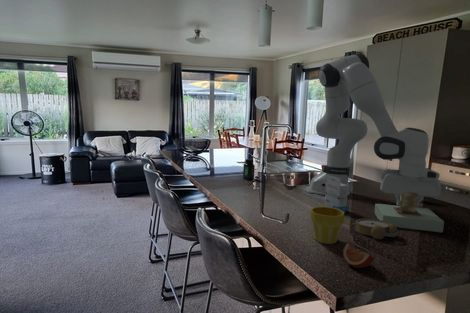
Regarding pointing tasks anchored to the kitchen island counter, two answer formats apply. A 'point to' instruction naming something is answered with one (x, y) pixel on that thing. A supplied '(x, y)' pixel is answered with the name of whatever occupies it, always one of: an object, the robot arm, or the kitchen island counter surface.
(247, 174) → the supplement bottle
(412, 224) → the board
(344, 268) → the kitchen island counter surface
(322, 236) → the plant pot
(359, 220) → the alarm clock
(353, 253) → the fruit slice
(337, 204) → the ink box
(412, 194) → the leg
